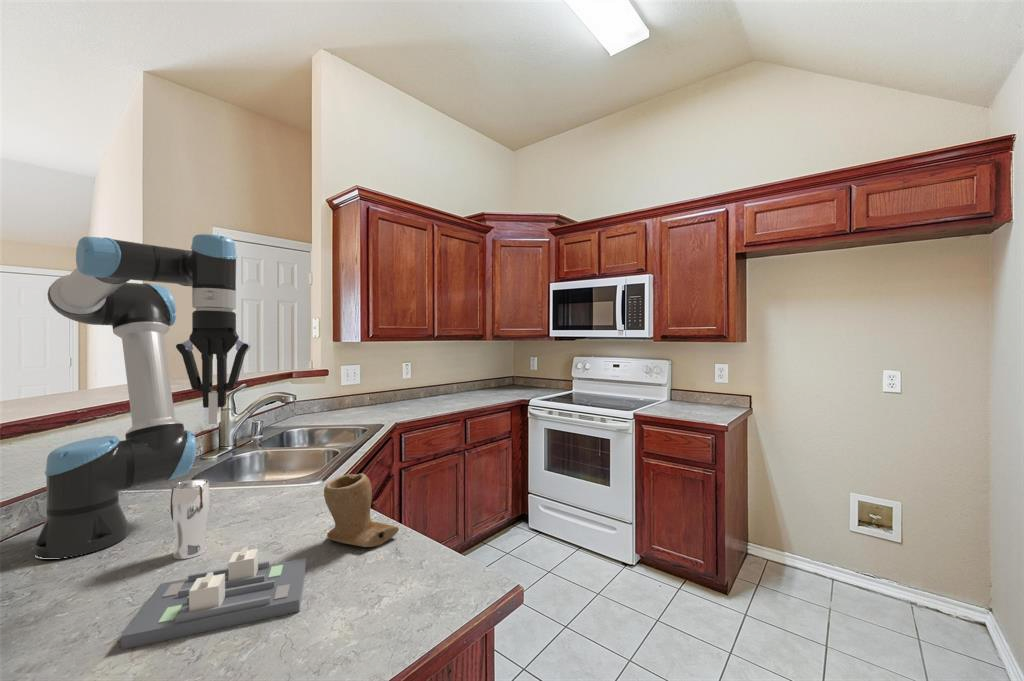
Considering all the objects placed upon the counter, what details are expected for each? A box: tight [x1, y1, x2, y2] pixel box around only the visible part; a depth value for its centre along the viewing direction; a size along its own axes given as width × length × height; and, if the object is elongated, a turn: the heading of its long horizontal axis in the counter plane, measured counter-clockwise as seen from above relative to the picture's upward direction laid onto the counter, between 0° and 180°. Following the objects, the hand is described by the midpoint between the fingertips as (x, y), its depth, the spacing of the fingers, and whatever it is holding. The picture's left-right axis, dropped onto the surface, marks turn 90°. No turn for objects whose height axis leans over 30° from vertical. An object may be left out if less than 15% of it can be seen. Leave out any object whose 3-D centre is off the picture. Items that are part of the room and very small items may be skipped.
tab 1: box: [189, 572, 225, 612], centre depth 71 cm, size 4×4×5 cm
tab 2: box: [227, 546, 259, 581], centre depth 80 cm, size 4×4×5 cm
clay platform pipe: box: [323, 473, 400, 548], centre depth 98 cm, size 15×12×15 cm
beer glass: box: [169, 478, 211, 560], centre depth 93 cm, size 7×7×15 cm
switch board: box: [120, 557, 307, 651], centre depth 75 cm, size 24×15×3 cm, turn 112°
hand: (214, 422), depth 89 cm, fingers closed
